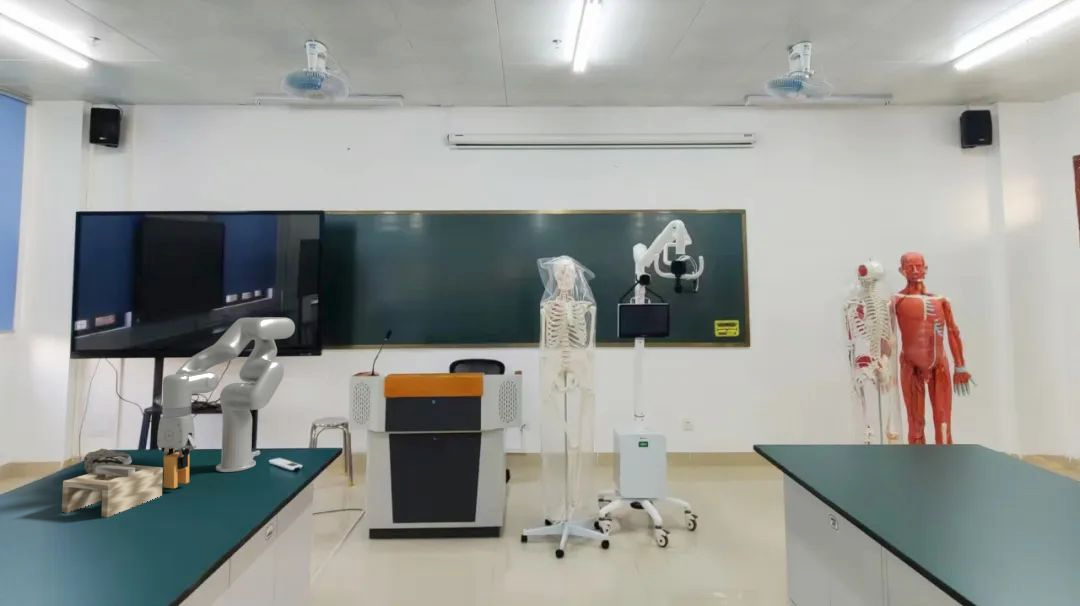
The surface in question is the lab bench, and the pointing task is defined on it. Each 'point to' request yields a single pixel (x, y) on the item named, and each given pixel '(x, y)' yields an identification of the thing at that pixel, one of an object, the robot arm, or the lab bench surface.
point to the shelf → (113, 488)
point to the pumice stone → (96, 454)
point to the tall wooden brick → (174, 471)
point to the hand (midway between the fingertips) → (176, 467)
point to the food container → (110, 460)
